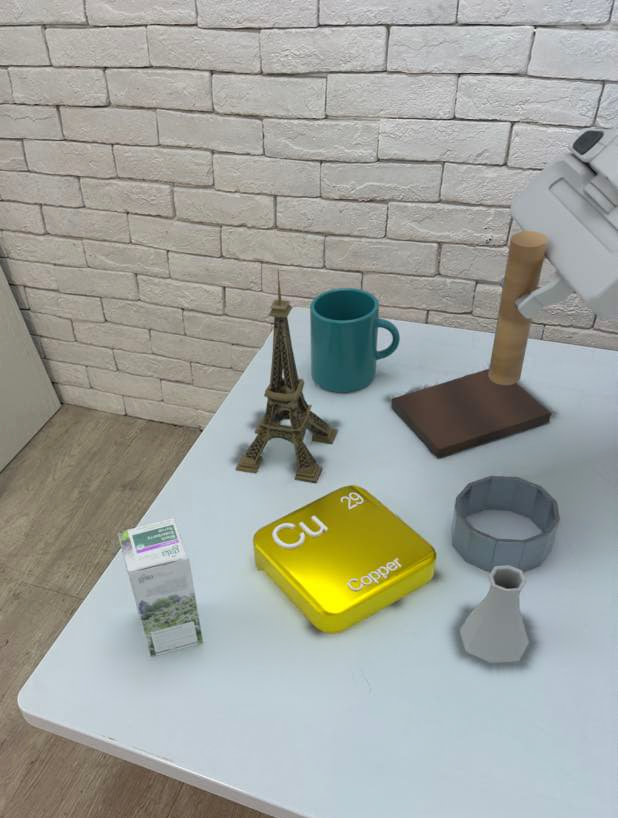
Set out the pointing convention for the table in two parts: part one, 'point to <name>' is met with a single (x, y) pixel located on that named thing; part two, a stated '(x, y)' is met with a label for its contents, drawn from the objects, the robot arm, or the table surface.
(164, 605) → the syrup box
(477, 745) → the table surface
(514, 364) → the stick
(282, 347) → the eiffel tower
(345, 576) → the element tile
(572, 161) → the robot arm
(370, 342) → the cup
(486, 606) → the flask
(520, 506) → the ring
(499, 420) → the board
